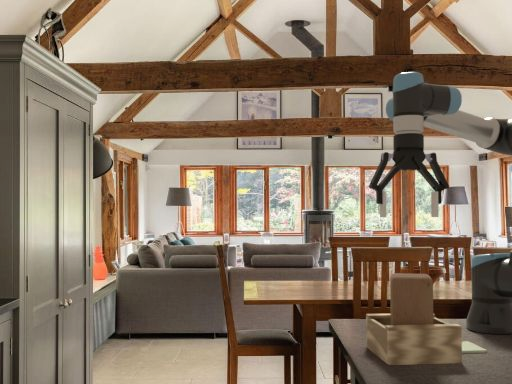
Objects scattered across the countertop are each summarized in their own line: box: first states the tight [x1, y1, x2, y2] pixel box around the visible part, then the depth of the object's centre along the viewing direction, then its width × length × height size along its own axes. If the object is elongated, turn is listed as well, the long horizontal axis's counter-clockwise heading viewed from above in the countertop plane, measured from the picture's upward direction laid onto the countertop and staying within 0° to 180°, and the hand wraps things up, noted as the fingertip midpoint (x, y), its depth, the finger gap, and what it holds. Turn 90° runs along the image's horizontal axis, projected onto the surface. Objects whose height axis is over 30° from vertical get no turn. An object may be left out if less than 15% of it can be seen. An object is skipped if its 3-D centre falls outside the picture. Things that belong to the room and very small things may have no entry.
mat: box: [462, 340, 488, 354], centre depth 154 cm, size 10×10×1 cm
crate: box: [365, 312, 463, 366], centre depth 148 cm, size 18×18×9 cm
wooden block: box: [389, 272, 434, 325], centre depth 148 cm, size 10×10×20 cm
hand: (409, 217), depth 149 cm, fingers open, 13 cm apart
